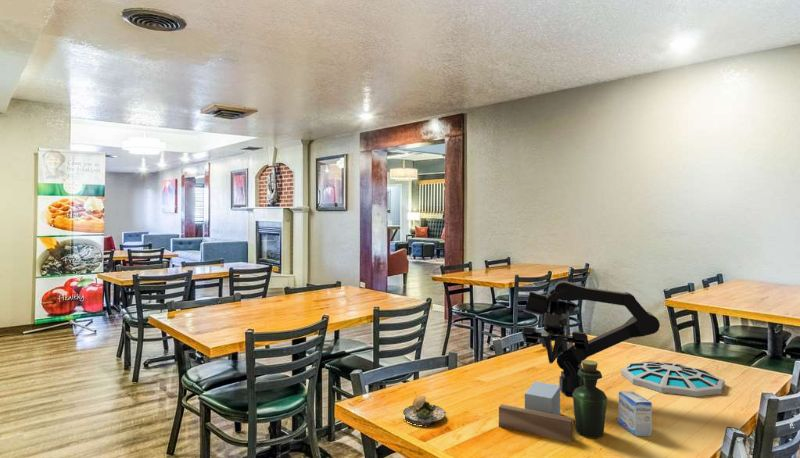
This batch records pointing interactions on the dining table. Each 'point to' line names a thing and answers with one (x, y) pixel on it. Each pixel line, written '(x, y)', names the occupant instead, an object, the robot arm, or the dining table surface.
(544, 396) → the slate block
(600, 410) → the potion bottle
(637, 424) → the medicine box
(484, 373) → the dining table surface
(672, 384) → the decorative platform
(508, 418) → the walnut board
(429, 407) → the grey dish with food
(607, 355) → the dining table surface
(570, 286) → the robot arm
